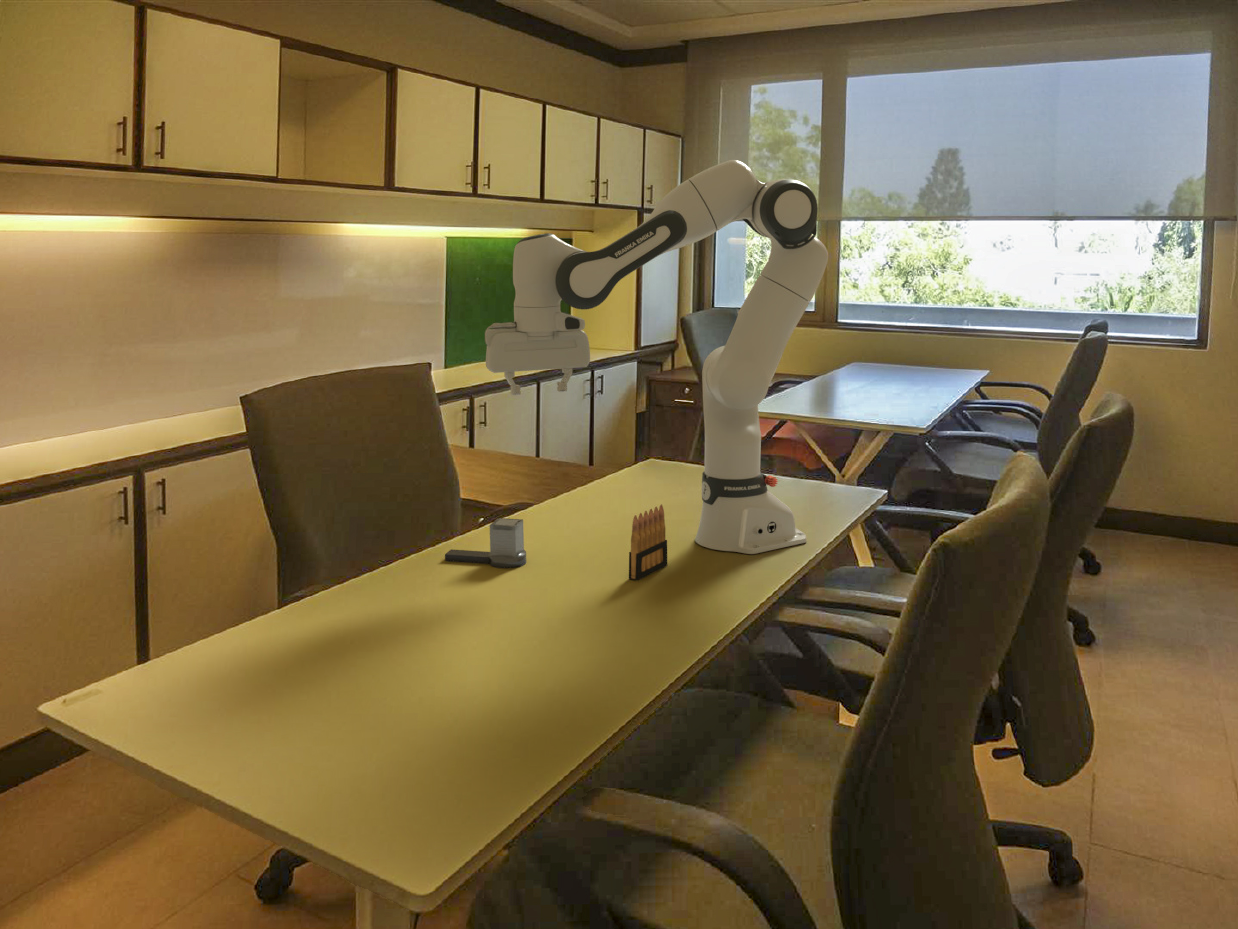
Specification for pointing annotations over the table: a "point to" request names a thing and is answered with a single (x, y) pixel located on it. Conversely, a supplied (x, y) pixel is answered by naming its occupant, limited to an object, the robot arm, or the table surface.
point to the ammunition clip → (648, 544)
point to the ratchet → (486, 558)
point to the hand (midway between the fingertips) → (539, 392)
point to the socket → (506, 537)
